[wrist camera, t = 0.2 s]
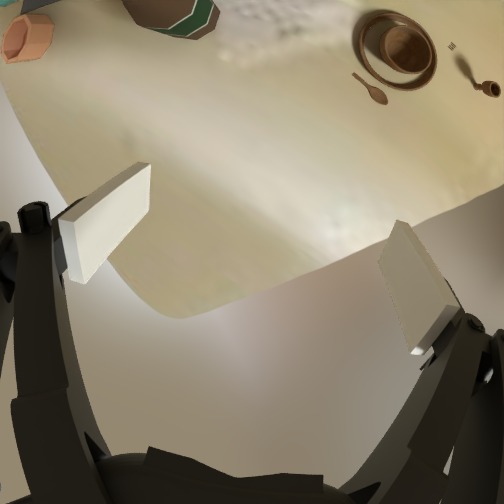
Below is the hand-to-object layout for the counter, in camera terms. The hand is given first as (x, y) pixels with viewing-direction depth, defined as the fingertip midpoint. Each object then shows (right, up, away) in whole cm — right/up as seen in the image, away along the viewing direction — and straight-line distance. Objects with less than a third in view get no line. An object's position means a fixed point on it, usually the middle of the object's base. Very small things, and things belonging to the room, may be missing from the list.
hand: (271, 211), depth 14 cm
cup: (-40, +37, +15) cm, 57 cm away
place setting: (+23, +24, +16) cm, 37 cm away
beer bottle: (-9, +30, +15) cm, 35 cm away
